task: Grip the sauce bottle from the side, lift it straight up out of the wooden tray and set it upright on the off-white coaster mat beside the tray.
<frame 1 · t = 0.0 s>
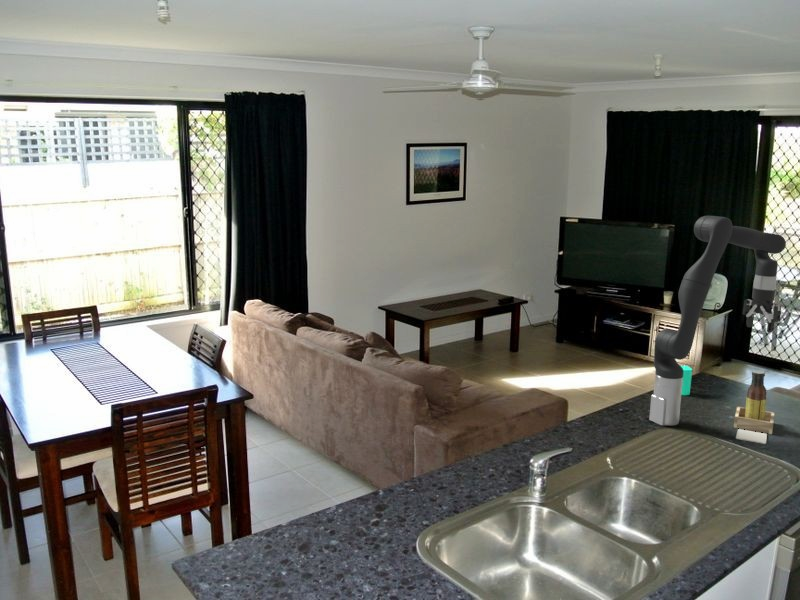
hand: (759, 329, 268), 29 cm above the counter, tool pointing down, fingers open, 8 cm apart
coaster mat: (751, 436, 241), on the counter
wooden tray: (753, 425, 251), on the counter
turquoise rectangular block: (681, 393, 285), on the counter
sauce bottle: (753, 425, 251), resting in wooden tray
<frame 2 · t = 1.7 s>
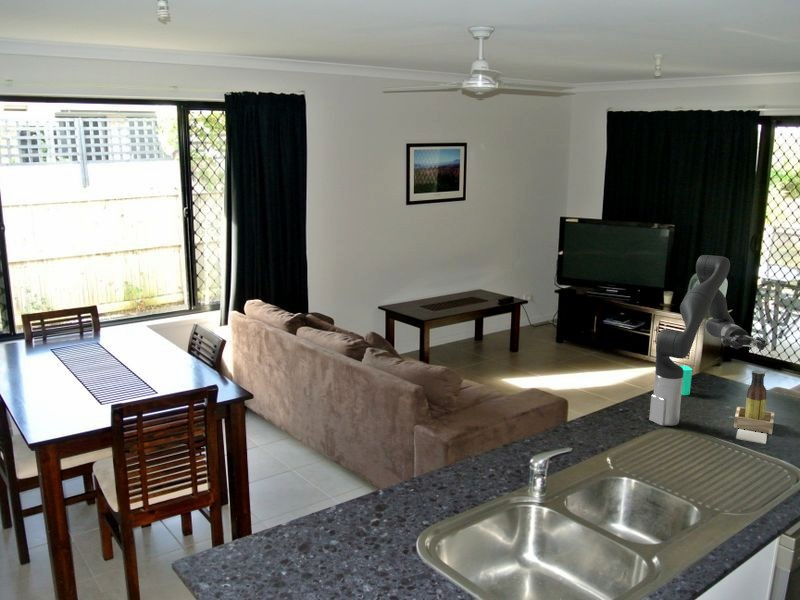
hand: (750, 346, 257), 26 cm above the counter, tool horizontal, fingers open, 8 cm apart
nothing on the counter moved.
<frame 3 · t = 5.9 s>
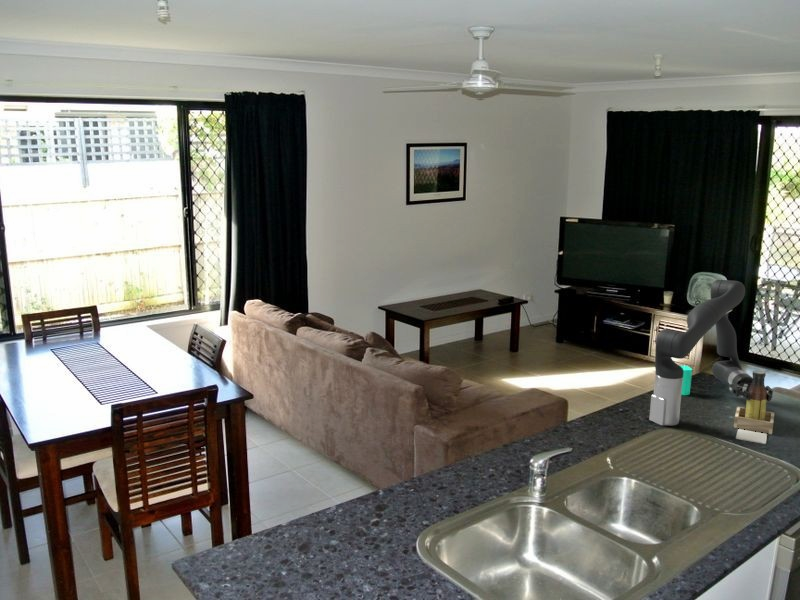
hand: (759, 397, 247), 11 cm above the counter, tool horizontal, fingers closed on sauce bottle, 6 cm apart
sauce bottle: (753, 425, 251), resting in wooden tray, touching gripper
everything else where it was.
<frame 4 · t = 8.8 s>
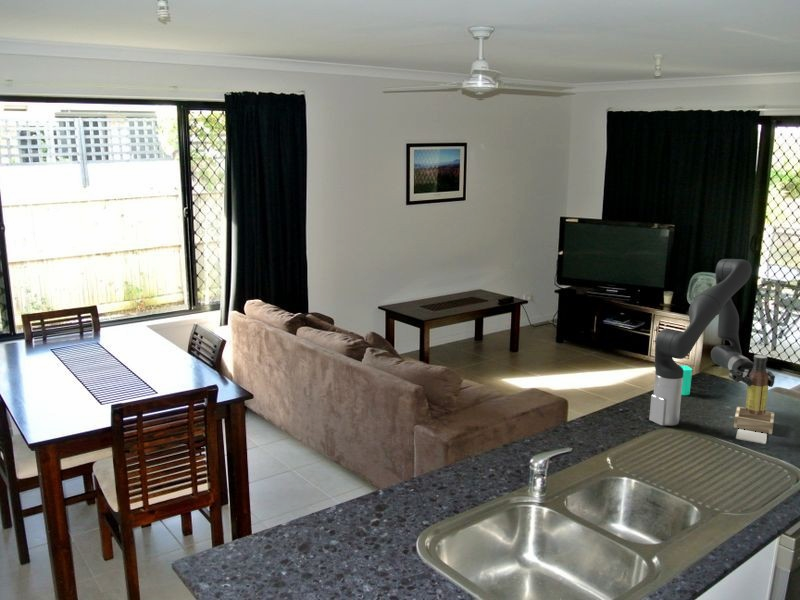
hand: (761, 383, 235), 20 cm above the counter, tool horizontal, fingers closed on sauce bottle, 6 cm apart
sauce bottle: (754, 413, 239), point 8 cm above the counter, touching gripper
everything else where it was.
when the fingers open (13 cm above the counter, at t = 11.4 s): sauce bottle drops 1 cm, resting on coaster mat.
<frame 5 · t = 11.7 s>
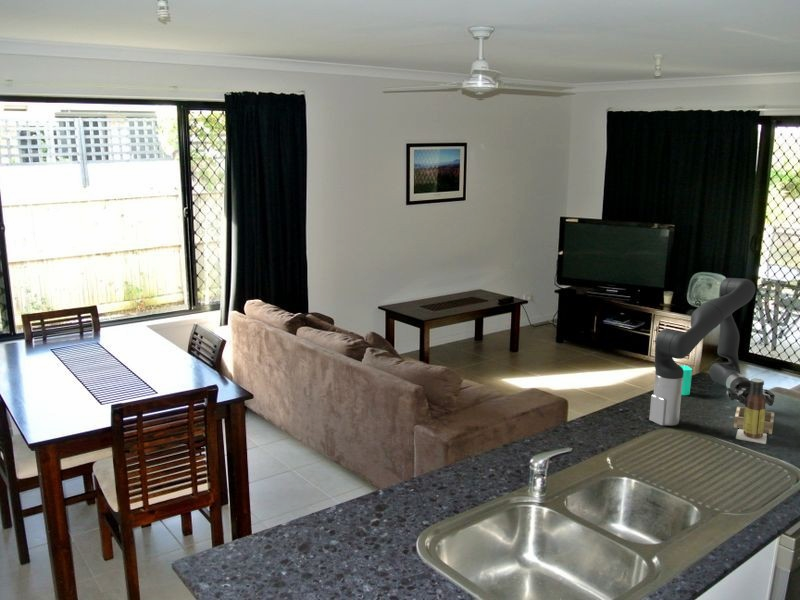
hand: (758, 402, 236), 13 cm above the counter, tool horizontal, fingers open, 8 cm apart
sauce bottle: (752, 435, 241), resting on coaster mat
everything else where it was.
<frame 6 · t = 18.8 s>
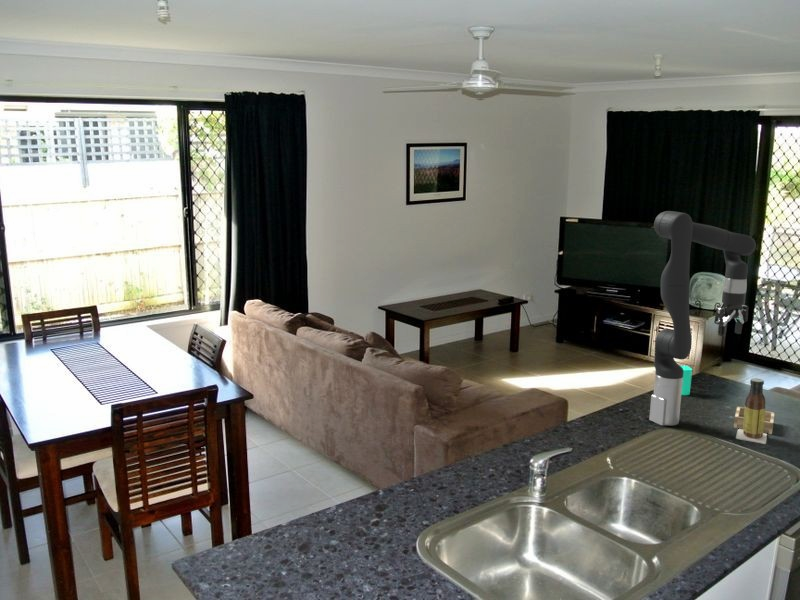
hand: (729, 334, 256), 30 cm above the counter, tool pointing down, fingers open, 8 cm apart
nothing on the counter moved.
at the end: sauce bottle inside the target area on the coaster mat (0.3 cm from its centre), point 0.2 cm above the coaster mat's base; sauce bottle tilted 0°; the gripper is holding nothing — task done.
